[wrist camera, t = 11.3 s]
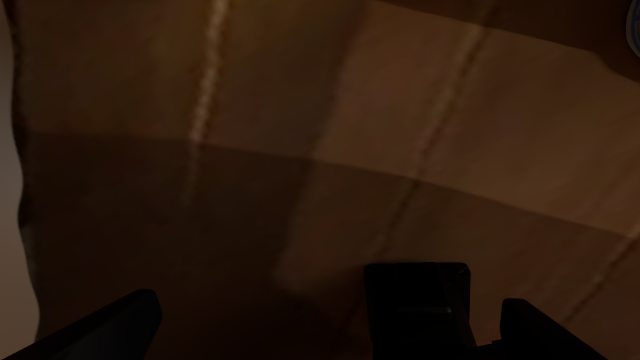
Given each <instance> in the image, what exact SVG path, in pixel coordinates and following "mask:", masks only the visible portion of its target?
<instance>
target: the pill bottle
mask: <svg viewBox="0 0 640 360" xmlns="http://www.w3.org/2000/svg"><path fill="white" fill-rule="evenodd" d="M626 37H627V42H628V44H629V46H630V47H631V49H632V50H633V52H634V53H635V54H636V55H637V56H638V57H640V0H633V1H632V3H631V5H630V8H629V10H628V15H627V20H626Z"/></svg>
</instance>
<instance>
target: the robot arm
mask: <svg viewBox="0 0 640 360" xmlns="http://www.w3.org/2000/svg"><path fill="white" fill-rule="evenodd" d="M459 270H464V272H462V273H459V272H458V271H459ZM369 271H373V272H375V273H373V274H370V273H369ZM470 277H471V273H470V269H469V267H468V266H467V264H465V263H435V262H421V263H396V264H369V265H367V266H365V268H364V282H365V292H366V302H367V311H368V321H369V331H370V340H371V342H372V343H373V360H608V359H606V358H605V357H604V356H602V355H601V354H600V353H598V352H597V351H595V350H594V349H593V348H591V347H590V346H589V345H587V344H586V343H584V342H583V341H582V340H580V339H579V338H577V337H576V336H575V335H573V334H572V333H571V332H569V331H568V330H566V329H565V328H564V327H562V326H561V325H559V324H558V323H557V322H555V321H554V320H553V319H551V318H550V317H548V316H547V315H546V314H544V313H543V312H542V311H540V310H539V309H537V308H536V307H535V306H533V305H532V304H530V303H529V302H528V301H526V300H524V299H519V298H506V299H504V300H503V303H502V311H501V320H500V334H501V338H502V339H499V340H495V341H491V342H492V344H488V345H483V346H478V347H477V344H476V341H475V338H474V335H473V333H472V330H471V327H470V324H469V312H470ZM161 321H162V310H161V307H160V304H159V301H158V298H157V295H156V293H155V291H154V290H151V289H139V290H136V291H134V292H132V293H130V294H128V295H126V296H124V297H123V298H121V299H119V300H117V301H115V302H113V303H111V304H109V305H107V306H105V307H103V308H101V309H99V310H97V311H95V312H93V313H91V314H90V315H88V316H86V317H84V318H82V319H80V320H78V321H76V322H74V323H72V324H70V325H68V326H66V327H64V328H62V329H60V330H58V331H57V332H55V333H53V334H51V335H49V336H47V337H45V338H43V339H41V340H39V341H37V342H35V343H33V344H31V345H30V346H27V347H25V348H24V349H22V350H20V351H18V352H16V353H14V354H12V355H10V356H8V357H6V358H4V359H2V360H143V358H144V356H145V354H146V352H147V350H148V348H149V346H150V344H151V342H152V340H153V338H154V336H155V334H156V332H157V330H158V327H159V325H160V323H161Z"/></svg>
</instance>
